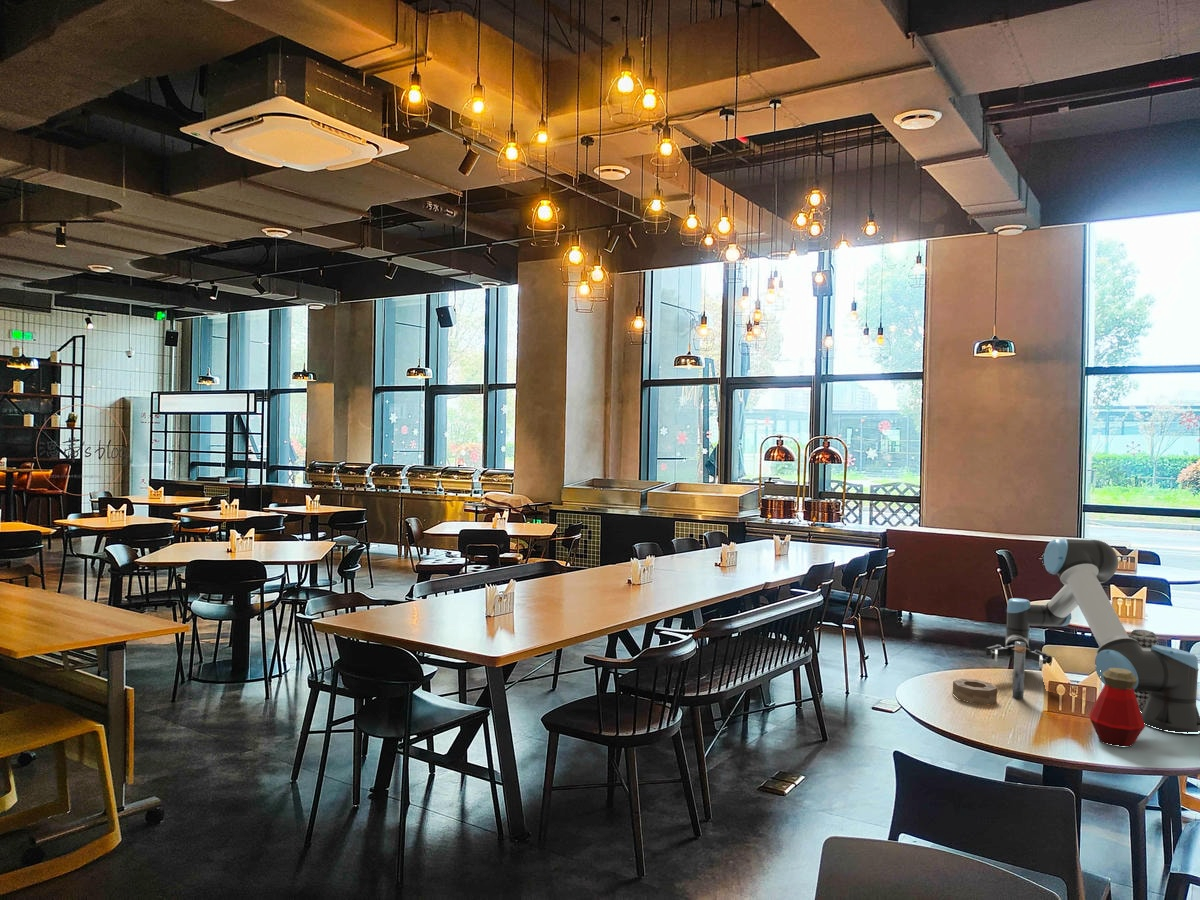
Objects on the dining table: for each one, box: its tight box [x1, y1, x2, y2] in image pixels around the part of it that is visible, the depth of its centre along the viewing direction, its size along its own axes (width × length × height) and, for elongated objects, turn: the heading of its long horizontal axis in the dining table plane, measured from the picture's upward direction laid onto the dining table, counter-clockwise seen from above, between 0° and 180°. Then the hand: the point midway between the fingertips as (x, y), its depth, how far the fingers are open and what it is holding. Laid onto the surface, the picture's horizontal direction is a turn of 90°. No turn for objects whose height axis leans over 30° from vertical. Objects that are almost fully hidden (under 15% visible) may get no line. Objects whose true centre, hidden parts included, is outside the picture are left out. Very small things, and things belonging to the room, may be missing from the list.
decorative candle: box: [1127, 629, 1159, 712], centre depth 264 cm, size 9×9×25 cm
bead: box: [952, 678, 998, 705], centre depth 270 cm, size 12×12×4 cm
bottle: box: [1088, 668, 1146, 747], centre depth 234 cm, size 16×14×20 cm
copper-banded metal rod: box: [1011, 641, 1026, 700], centre depth 272 cm, size 3×3×18 cm
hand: (1018, 660), depth 280 cm, fingers open, 13 cm apart
